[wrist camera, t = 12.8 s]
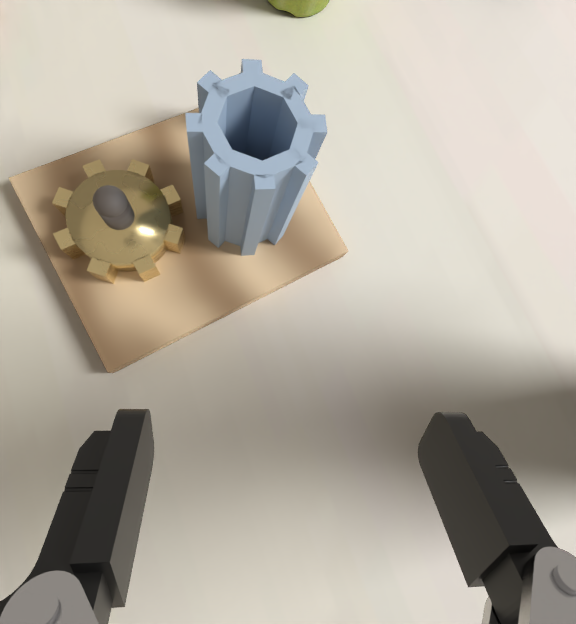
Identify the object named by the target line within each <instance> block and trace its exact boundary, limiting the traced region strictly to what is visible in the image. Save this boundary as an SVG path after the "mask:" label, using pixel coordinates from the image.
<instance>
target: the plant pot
mask: <svg viewBox="0 0 576 624" xmlns="http://www.w3.org/2000/svg"><path fill="white" fill-rule="evenodd" d="M268 1H269V3H270V4H271V5H272V6H274V7H275V8H276V9H278V10H285V11H287V12H290V13H292V14H293V15H294V16H296V17H307V16H312V15H314V14H317V13H318V12H320V11H321V10H323V9H324V8H325V7H326V5H327V4H328V2H329V0H268Z"/></svg>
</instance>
